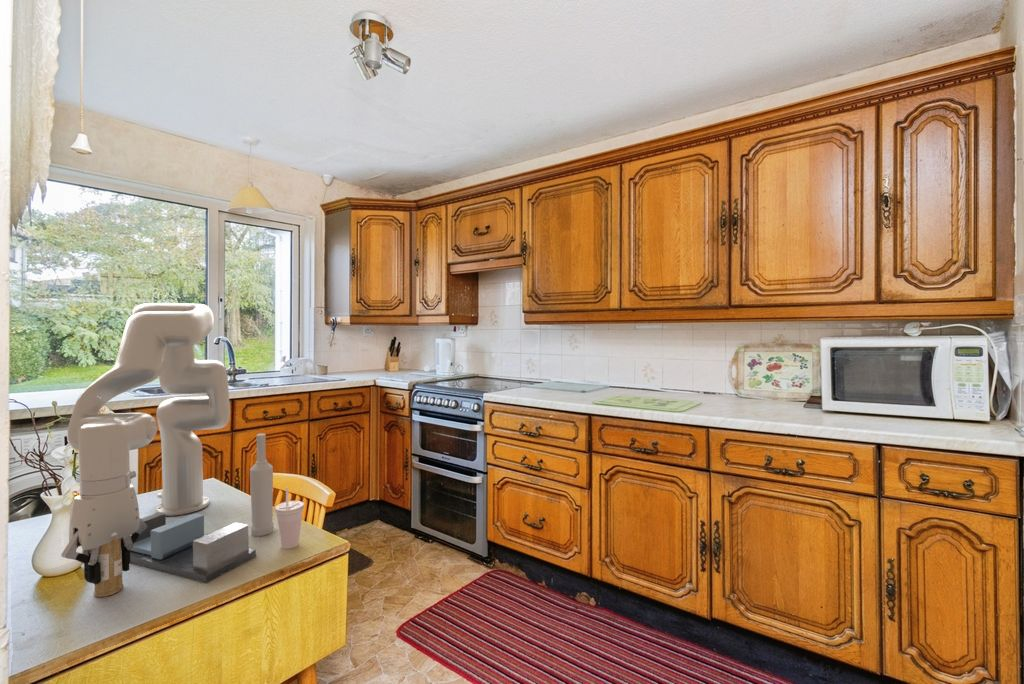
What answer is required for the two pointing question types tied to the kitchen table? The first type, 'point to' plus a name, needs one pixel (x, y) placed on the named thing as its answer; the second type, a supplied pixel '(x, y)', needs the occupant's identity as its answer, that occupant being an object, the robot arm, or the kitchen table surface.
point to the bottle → (261, 491)
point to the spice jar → (110, 568)
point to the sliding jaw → (168, 535)
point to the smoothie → (289, 522)
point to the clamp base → (187, 564)
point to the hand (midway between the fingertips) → (108, 574)
